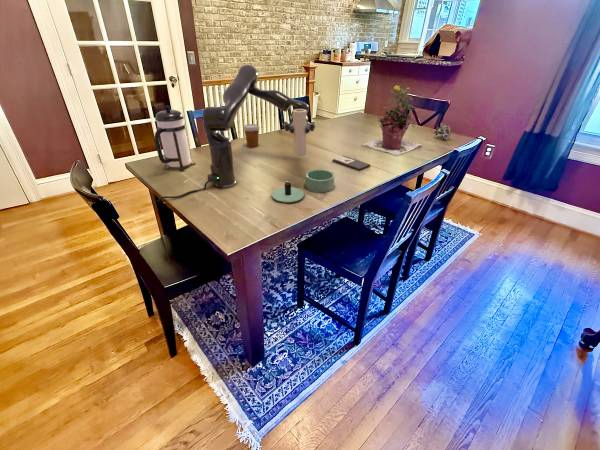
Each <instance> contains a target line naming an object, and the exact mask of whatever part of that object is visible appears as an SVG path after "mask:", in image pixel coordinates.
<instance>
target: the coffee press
mask: <svg viewBox="0 0 600 450" xmlns="http://www.w3.org/2000/svg"><path fill="white" fill-rule="evenodd" d="M184 118H185V116H184V114H182V112H181V111H180V110H178V109H177V110H176V109H171V107H170V105H168V104H166V105H164V110H161V111H158V112H157V113H156V114H155V117H154V120H155V122H156V125H157V126H156V128H157V130H156V131H155V133H154V144H155V148H156V151H157V156H158V158H159V161H160V162H161V163H162V164H165V165H164V169H165V170H168V169H169V168H170V167H171V168H179V169H180V171H181V172H184V171H185V168H184V167H187V166H188V165H190V164H191V165H193V166H195V164H196V161H194V160H193V159H192V153H191V149H190V143H189V138H188V133H187V129H186V123H185V120H184Z"/></svg>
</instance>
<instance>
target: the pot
mask: <svg viewBox="0 0 600 450" xmlns="http://www.w3.org/2000/svg"><path fill="white" fill-rule="evenodd" d="M305 188H306V189H307V190H308V191H310V192H313V193H327V192H330V191H332V190H333V189H334V188H335V173H334V172H332V171H330V170H327V169H312V170H309V171H307V172H306V173H305Z"/></svg>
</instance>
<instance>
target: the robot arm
mask: <svg viewBox="0 0 600 450" xmlns="http://www.w3.org/2000/svg"><path fill="white" fill-rule="evenodd" d="M258 77H259V73H258V70H257V69H256V67H254V66H253V65H252V64H251V65H250V64H244V65H242V66H240V68H239V69H238V72H237V74H236V76H235V77H234V79H233V80H232V81H231V83H230V84H229V85H228V86H227V87H226V89H225V90H224V92H223V94H222V102H223V103H224V106H206V107H204V109H203V111H202V122H203V127H204V131H205V137H206V141H207V143H208V148H209V155H210V160H211V164H210V166H209V168H210V174H207V176H206V177H207V181H206V182H205V183H204V187H203V188H200V189H193V190H190V191H187V192H185V193H182V194H180V195H173V196H169V195H167V196H162V197H160V198H158V199H157V201H156V202H157V203H158V202H160V201H161V200H163V199H178V198H181V197H184V196H186V195H188V194H191V193H196V192H200V191H204V190H206V188H207V184H208V183H211V184H212V185H213V186H215V187H217V188H219V189H225V188H230V187H233V186H235V185H236V183H237V182H236V181H237V180H236V174H235V165H234V157H233V148H232V142H231V141H232V140H231V139H230V138H229V137H227V136H226V135H223V134H222V133H220V132H227V131H229V130H230V129H231V128H232V126H233V124H234V122H235V120H236V116H237V114H238V112H239V111H240V109H241V107H242V106H243V104H244V103H245V102H246V99H247V96H248V95H249V94H250V95H251V96H253V97H256V98H258V99H261V100H263V101H265V102H268V103H270V104H271V105H273V106H274V107H276V108H277V109H279V110H281V111H282V112H288V111H289V110H290V109H291V107H293V106H294V107H293V109H292V111H291V113H290V115H289V118H290V122H287V121H284V122H283V129H284V131H285V132H289V133H291V134H292V135H293V110H295V109H304V110H306V111H307V115H306V135H307V134H309V133H310V132H314V131H315V129H316V121H311V123H310V122H309V117H308V113H309V110H310V107H309V105H308V104H307V103H306V102H304V101H301V100H297V99H293V98H292V97H290V96H287V95H286V94H285V93H283V92H281V91H279V90H278V89H277V90H276V89H260V88H259V87H257V86H256V84H257V81H258ZM159 237H160V240H161V243H162V247H163V250H164V253H165V255H166V256H165V257H166V259H167V262H168V261H170V262H171V260H170V257H169V254H168V251H167V247H166V245H165V241H164V237H163V235H160V236H159Z"/></svg>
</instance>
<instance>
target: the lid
mask: <svg viewBox="0 0 600 450" xmlns="http://www.w3.org/2000/svg"><path fill="white" fill-rule="evenodd" d="M271 197H272V199H273V200H275V201H277V202H279V203H296V202H299V201H300V200H303V199H304V197H305V192H304V191H303V190H302V189H300V188H298V187H297V188H296V187H294V186H292V183H291V182H289V181H286V182H285V183H284V187H279V188H277V189H274V190H273V191H272V193H271Z"/></svg>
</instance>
